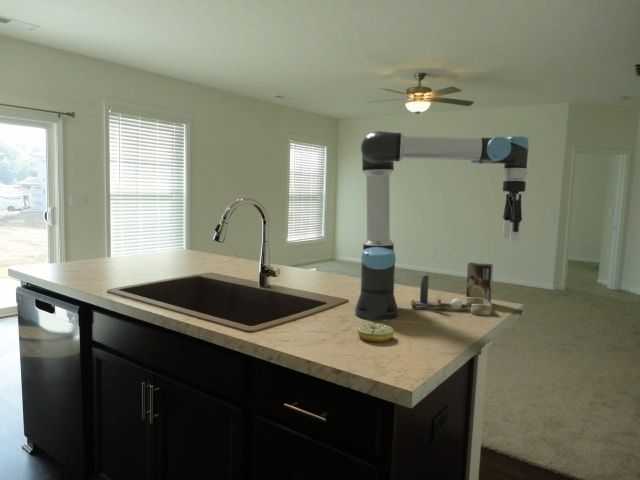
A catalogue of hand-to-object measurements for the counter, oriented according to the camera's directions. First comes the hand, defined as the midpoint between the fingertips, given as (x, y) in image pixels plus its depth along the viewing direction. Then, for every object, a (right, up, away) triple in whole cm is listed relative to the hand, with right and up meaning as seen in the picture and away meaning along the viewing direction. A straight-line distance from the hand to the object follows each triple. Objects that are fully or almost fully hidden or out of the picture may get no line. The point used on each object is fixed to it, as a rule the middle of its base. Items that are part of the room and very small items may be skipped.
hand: (510, 239), depth 165 cm
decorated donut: (-53, -30, -30) cm, 67 cm away
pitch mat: (-21, -26, +5) cm, 34 cm away
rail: (-24, -26, +6) cm, 36 cm away
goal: (-10, -26, +4) cm, 29 cm away
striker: (-29, -25, +6) cm, 39 cm away
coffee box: (-6, -26, +15) cm, 31 cm away
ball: (-18, -24, +5) cm, 31 cm away
